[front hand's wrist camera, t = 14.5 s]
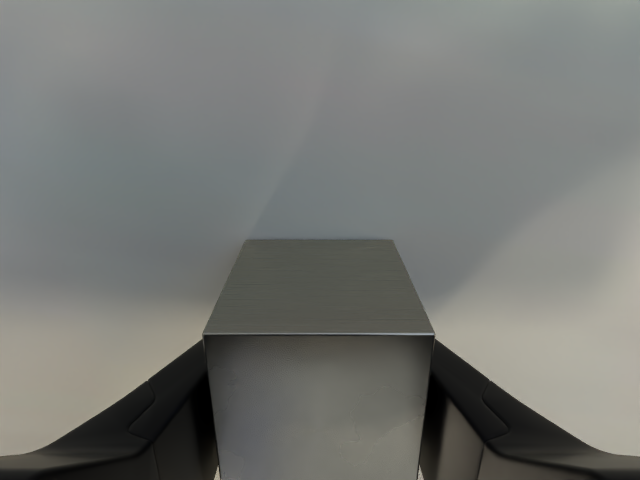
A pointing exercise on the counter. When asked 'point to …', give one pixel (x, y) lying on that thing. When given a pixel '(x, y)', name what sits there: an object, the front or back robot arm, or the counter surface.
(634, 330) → the counter surface
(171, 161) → the counter surface
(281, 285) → the block
